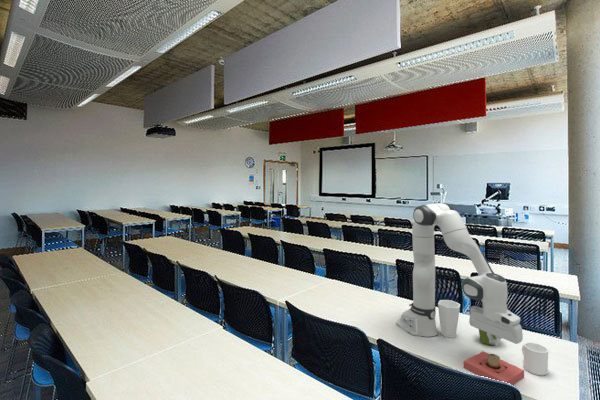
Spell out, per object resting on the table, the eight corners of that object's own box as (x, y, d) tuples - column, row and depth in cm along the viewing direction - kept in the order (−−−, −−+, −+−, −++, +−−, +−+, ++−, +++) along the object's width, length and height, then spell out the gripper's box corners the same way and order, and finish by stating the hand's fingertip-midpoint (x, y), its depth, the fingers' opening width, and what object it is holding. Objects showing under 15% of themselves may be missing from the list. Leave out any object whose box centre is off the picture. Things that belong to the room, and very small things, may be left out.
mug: (513, 359, 142) (514, 338, 141) (531, 359, 142) (532, 338, 141) (532, 376, 130) (533, 352, 129) (552, 376, 130) (553, 352, 129)
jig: (463, 367, 136) (463, 361, 136) (482, 357, 144) (483, 351, 144) (505, 389, 122) (505, 382, 122) (524, 377, 129) (524, 370, 129)
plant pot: (505, 350, 150) (506, 327, 149) (477, 346, 154) (478, 324, 153) (498, 338, 161) (499, 317, 161) (473, 334, 165) (473, 314, 164)
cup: (455, 330, 170) (456, 300, 169) (463, 340, 160) (464, 307, 159) (434, 329, 171) (434, 299, 170) (441, 339, 161) (441, 307, 160)
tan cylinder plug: (485, 371, 134) (485, 355, 133) (490, 368, 136) (491, 352, 135) (495, 376, 130) (495, 360, 130) (500, 373, 132) (501, 357, 132)
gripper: (466, 305, 139) (466, 335, 139) (517, 323, 121) (516, 357, 122) (474, 302, 142) (474, 332, 143) (525, 319, 124) (524, 352, 125)
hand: (493, 344), depth 132 cm, fingers closed
